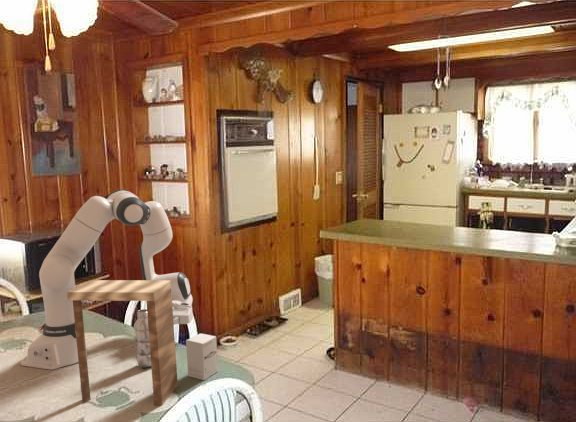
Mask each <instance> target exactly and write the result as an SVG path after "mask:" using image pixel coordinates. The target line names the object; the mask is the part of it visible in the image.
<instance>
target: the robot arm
mask: <svg viewBox="0 0 576 422" xmlns="http://www.w3.org/2000/svg"><path fill="white" fill-rule="evenodd" d="M115 219H116V220H118V221H119V222H120V223H121V224H124V225H125V226H138V225H139V226H140V230H141V232H142V236H143V239H142V242H140V244H139V249H138V250H139V251H138V252H139V260H140V261H139V262H140V267H141V273H142V274H141V275H142V280H170V281H171V295H172V309H173V323H174V325H189V324H190V323H191V322H192V320H193V317H194V316H193V315H194V314H193V306H192V305H193V300H194V298H193V295H192V294H191V293H192V287H191V286H192V285H191V281H190V279H189V278H188V276H186V274H185V273H183V272H179V271H178V272H172V273H171V272H170V273H166V274H157V273H156V272H155V266H154V259H153V258H154V256H155V255H156V254H158V253H160V252H162V251H163V250H165V249H166V248H167V247H168V246H169V245H170V244H171V242H172V240H173V229H172V225H171V223H170V220H169V218H168V215H167V213H166V211H165V209H164V207H163V205H162V204H161V203H160V202H158V201H156V200H155V201H154V200H151V201H145V202H144V201H143V200H142V199H140V198H139V197H138V196H137V195H136V194H135V193H133V192H131V191H130V190H127V189H123V188H121V189H116V190H113V191H112V192H111V193H109V194H107V195H105V196H104V197H103V196H99V195H94V196H91V197H90V198H89V199H87V200H86V201H85V202H84V203H83V204H82V206H81V207H80V208H79V209H78V211H77V212H76V213H75V215H74V216H73V218H72V219H71V221H70V222H69V223H68V225H67V226H66V228H65V230H64V231H63V232H62V234H61V236H60V237H59V238H58V240H56V243H55V244H54V245H53V247H52V248H51V250H50V251H49V252H48V253H47V255H46V257H45V258H44V260H43V262H42V264H41V267H40V269H39V272H38V273H39V274H38V277H39V283H40V289H41V294H42V295H41V297H42V299H43V306H44V315H45V323H44V324H43V325H41V326H40V327H39V331H42V333H41V334H40V335H39V336H38V337H36V339H34V341H32V342H31V343H30V344H29V346H28V347H27V355H26V356H25V357H24V358H22V360H21V361H20V365H21V366H23V367H28V368H37V369H44V370H56V369H60V368H61V367H62V368H63V367H66V366H71V365H73V364H76V363H79V362H78V351H77V341H76V331H75V320H74V310H73V300H68V297H67V292H68V291H70V290H72V289H74V288H76V287H77V286H76V280H75V278H76V277H75V272H76V269H77V268H78V266H79V265H80V263H81V262H82V261H83V260H84V258H85V257H86V256H87V255H88V253H89V252H90V251H91V250H92V248H93V247H94V245H95V243H96V242H97V241H98V239H99V237H100V236H101V234H102V233H103V232H104V230H105V229H106V227H107V225H108V224H109V223H110V222H111V221H113V220H115ZM86 355H87V356H88V352H87V351H86Z"/></svg>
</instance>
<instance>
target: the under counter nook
mask: <svg viewBox="0 0 576 422" xmlns="http://www.w3.org/2000/svg"><path fill="white" fill-rule="evenodd" d="M75 287H76V288H74V289H72V290H70V291H68V292H67V297H68V300H73V310H74V320H75V331H76V341H77V351H78V362H77V363H78V369H79V381H80V392H81V393H80V394H81V401H82V402H83V403H85V402H89V401H90V400H91V399H92V398H91V397H92V396H91V390H90V389H91V388H90V378H89V376H90V375H89V368H88V359H87V358H88V354H87V355H86V352H87V348H86V347H87V345H86V336H85V326H84V325H85V324H84V314H83V305H82V301H100V302H101V301H102V302H103V301H106V302H107V301H109V302H110V301H113V302H114V301H115V302H116V301H117V302H118V301H119V302H121V301H124V302H129V301H131V302H134V301H135V302H136V301H137V302H138V301H139V302H146V309H147V316H148V329H149V342H150V355H151V367H150V368H151V379H152V390H153V391H152V392H153V405H154V406H163V405H164V404H165V402H166V401H167V400H168V398H170V396H171V394H172V393H173V392H174V391H175V389H176V388H177V386H178V385H179V383H178V381H179V380H178V371H177V370H178V368H177V355H176V340H175V326H174V323H173V309H172V295H171V281H170V280H143V279H142V280H141V279H140V280H139V279H137V280H135V279H134V280H133V279H132V280H131V279H128V280H127V279H126V280H125V279H124V280H123V279H120V280H119V279H116V280H115V279H105V280H103V279H97V280H96V279H93V280H91V279H90V280H88V281H86V282H84V283H82V284H80V285H78V286H75Z"/></svg>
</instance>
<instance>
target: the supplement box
mask: <svg viewBox="0 0 576 422" xmlns="http://www.w3.org/2000/svg"><path fill="white" fill-rule="evenodd" d="M185 346H186V347H185V348H186V365H187V376H188V377H191V378H195V379H199V380H202V381H205V380H206V379H208V378H209V377H212V376H213V375H214V374H216V373H218V372H219V365H218V348H217V346H218V345H217V336H216V335H212V334H206V333H198V334H197V335H194V336H192V337H190V338H188V339H186V340H185Z"/></svg>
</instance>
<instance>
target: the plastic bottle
mask: <svg viewBox="0 0 576 422" xmlns="http://www.w3.org/2000/svg"><path fill="white" fill-rule="evenodd" d="M136 315H137V316H136V317H137V319H136V321H135V322H134V324H133V329H134V333H135V336H136V344H137V348H136V349H137V353H136V362H137V365H138V367H140V368H144V369H145V368H151V355H150V342H149V329H148V316H147V308H146V309H144V308H143V309H139V310H137V313H136Z"/></svg>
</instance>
